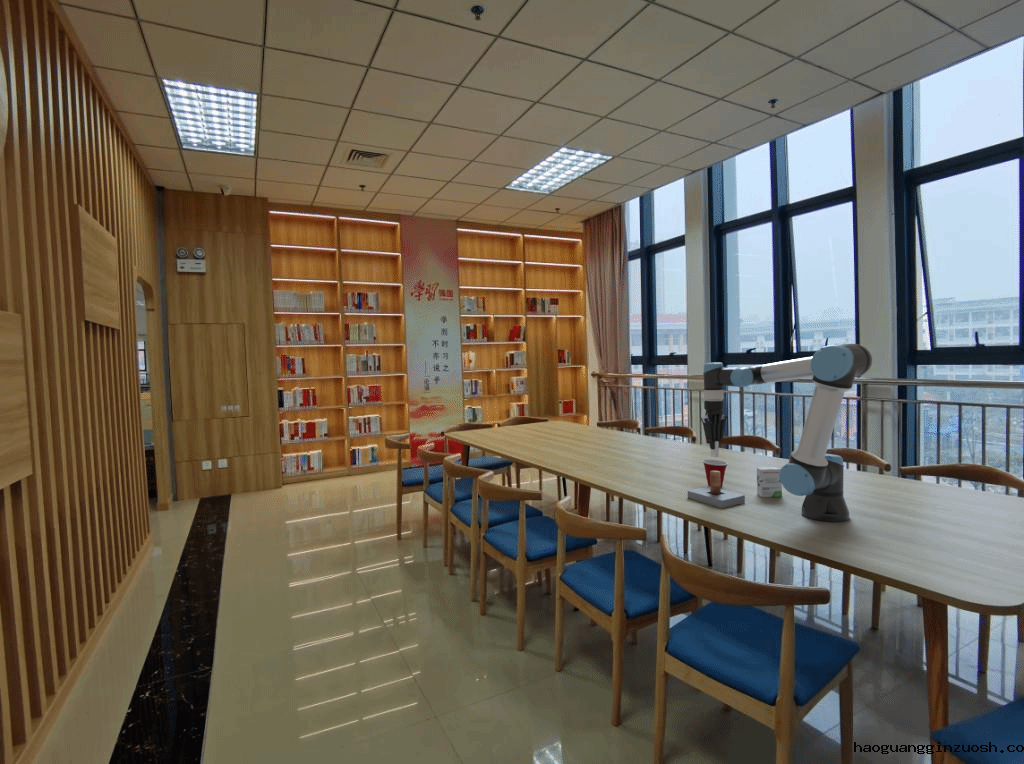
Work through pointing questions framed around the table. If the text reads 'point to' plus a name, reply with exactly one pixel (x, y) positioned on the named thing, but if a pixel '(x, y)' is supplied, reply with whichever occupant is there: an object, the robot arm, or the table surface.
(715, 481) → the peg
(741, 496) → the board
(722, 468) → the plastic cup
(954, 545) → the table surface
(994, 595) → the table surface
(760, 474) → the ink box
